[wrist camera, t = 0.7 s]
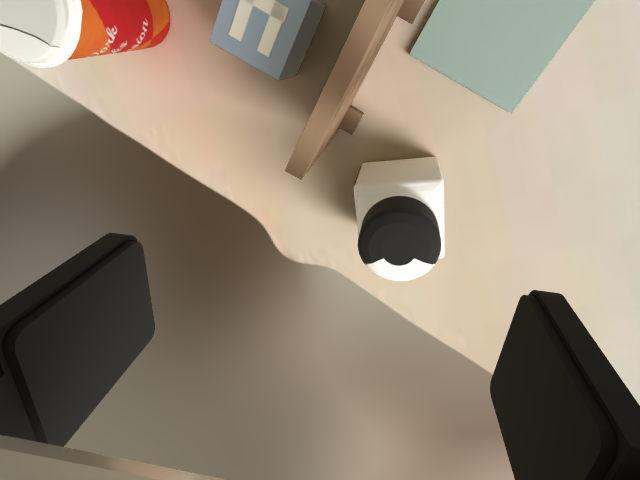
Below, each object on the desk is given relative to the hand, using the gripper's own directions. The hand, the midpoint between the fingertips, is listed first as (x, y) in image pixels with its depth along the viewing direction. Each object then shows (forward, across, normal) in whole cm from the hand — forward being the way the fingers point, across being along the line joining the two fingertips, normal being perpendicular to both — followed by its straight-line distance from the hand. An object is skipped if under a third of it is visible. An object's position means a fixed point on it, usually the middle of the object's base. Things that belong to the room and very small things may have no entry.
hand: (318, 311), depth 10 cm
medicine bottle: (+30, -4, +7) cm, 31 cm away
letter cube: (+30, +9, -7) cm, 32 cm away
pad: (+30, -9, -8) cm, 32 cm away
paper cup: (+31, +22, -7) cm, 38 cm away
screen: (+30, +1, -5) cm, 30 cm away
